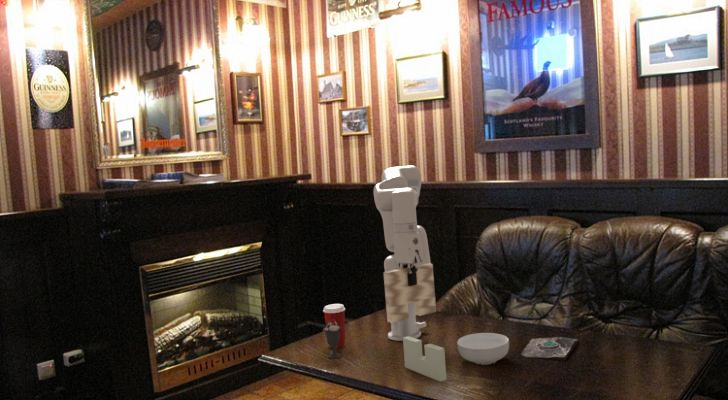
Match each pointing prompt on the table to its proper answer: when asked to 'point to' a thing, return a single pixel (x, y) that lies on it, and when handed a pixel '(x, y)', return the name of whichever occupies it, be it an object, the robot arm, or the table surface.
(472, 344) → the cereal bowl
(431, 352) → the sage board
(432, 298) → the maple plate
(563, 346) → the terrain model
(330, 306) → the coffee cup
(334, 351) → the sundae
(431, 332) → the table surface
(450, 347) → the table surface
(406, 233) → the robot arm
